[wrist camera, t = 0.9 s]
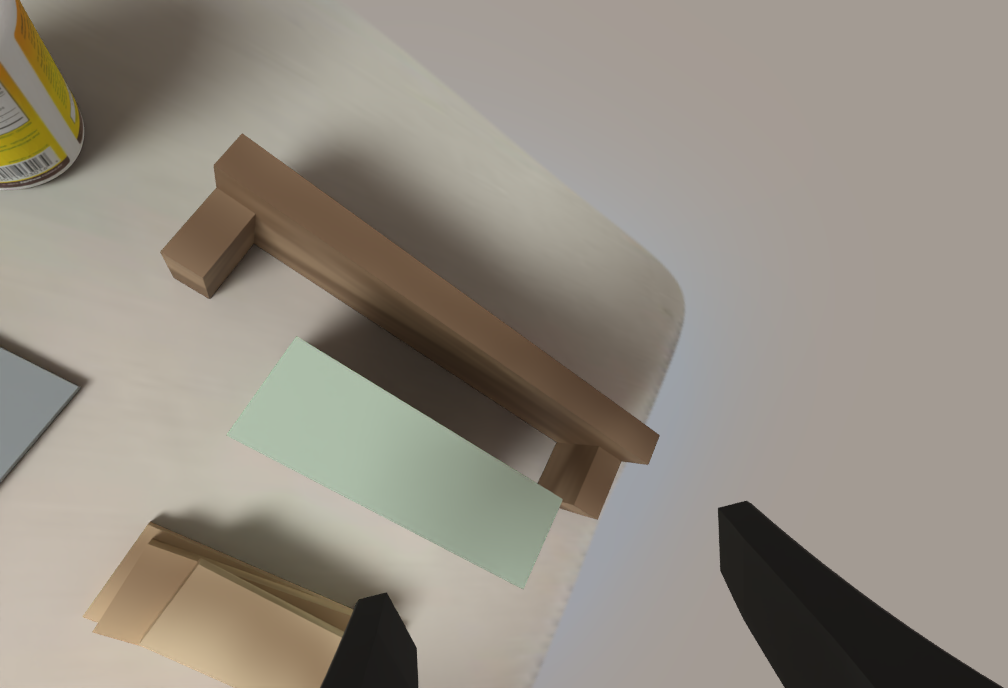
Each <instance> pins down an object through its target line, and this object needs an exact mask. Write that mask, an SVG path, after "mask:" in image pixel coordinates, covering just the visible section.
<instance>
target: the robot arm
mask: <svg viewBox="0 0 1008 688" xmlns="http://www.w3.org/2000/svg"><path fill="white" fill-rule="evenodd" d="M718 520H719V546H720V571H721V573H722V575H723V577H724V579H725V582H726V584H727V586H728V588H729V590H730V592H731V594H732V597H733V599H734V601H735V603H736V605H737V607H738V609H739V611H740V613H741V615H742V617H743V619H744V621H745V622H746V624H747V626H748V628H749V629H750V631H751V633H752V634H753V636H754V638H755V639H756V641H757V643H758V644H759V646H760V648H761V649H762V651H763V653H764V654H765V656H766V658H767V659H768V661H769V663H770V664H771V666H772V668H773V669H774V671H775V673H776V674H777V676H778V677H779V679H780V681H781V682H782V684H783V686H784V687H785V688H1003V687H1002V686H1000V685H998V684H997V683H995V682H993V681H992V680H990V679H988V678H987V677H985V676H984V675H982V674H980V673H979V672H977V671H975V670H974V669H972V668H971V667H969V666H968V665H966V664H965V663H963V662H961V661H960V660H958V659H957V658H955V657H953V656H952V655H950V654H949V653H947V652H946V651H944V650H943V649H941V648H940V647H938V646H937V645H935V644H934V643H932V642H931V641H929V640H928V639H926V638H925V637H923V636H922V635H920V634H919V633H917V632H916V631H914V630H913V629H911V628H910V627H908V626H907V625H906V624H904V623H903V622H901V621H900V620H898V619H897V618H896V617H894V616H893V615H891V614H890V613H889V612H887V611H886V610H884V609H883V608H881V607H880V606H879V605H877V604H876V603H875V602H873V601H872V600H870V599H869V598H868V597H866V596H865V595H864V594H862V593H861V592H859V591H858V590H857V589H855V588H854V587H853V586H852V585H850V584H849V583H848V582H846V581H845V580H844V579H842V578H841V577H840V576H838V575H837V574H836V573H835V572H833V571H832V570H831V569H829V568H828V567H827V566H826V565H824V564H823V563H822V562H821V561H819V560H818V559H817V558H815V557H814V556H813V555H812V554H811V553H809V552H808V551H807V550H806V549H804V548H803V547H802V546H801V545H799V544H798V543H797V542H796V541H795V540H793V539H792V538H791V537H790V536H789V535H787V534H786V533H785V532H784V531H783V530H781V529H780V528H779V527H778V526H777V525H775V524H774V523H773V522H772V521H771V520H769V519H768V518H767V517H766V516H765V515H764V514H763V513H762V512H760V511H759V510H758V509H757V508H756V507H755V506H753V505H752V504H751V503H749V502H748V501H744V502H740V503H736V504H732V505H728V506H724V507H720V508H718ZM320 688H418V668H417V648H416V646H415V644H414V642H413V640H412V638H411V637H410V635H409V633H408V631H407V629H406V627H405V625H404V624H403V622H402V620H401V618H400V616H399V614H398V612H397V611H396V609H395V607H394V605H393V603H392V601H391V599H390V598H389V596H388V594H387V592H386V593H383V594H379V595H375V596H371V597H367V598H363V599H359V600H358V602H357V603H356V605H355V607H354V610H353V612H352V615H351V617H350V620H349V622H348V624H347V627H346V629H345V632H344V634H343V636H342V639H341V641H340V643H339V646H338V648H337V650H336V653H335V655H334V657H333V660H332V662H331V664H330V666H329V669H328V671H327V673H326V676H325V678H324V680H323V682H322V684H321V687H320Z"/></svg>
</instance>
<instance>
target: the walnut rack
mask: <svg viewBox="0 0 1008 688" xmlns="http://www.w3.org/2000/svg"><path fill="white" fill-rule="evenodd" d="M214 172H215V179H216V187H217V188H216V189H215V190H214V191H213V192H212V193H211V194H210V196H209V197H208V198H207V199H206V200H205V201H204V202H203V204H202V205H201V206H200V207H199V208H198V209H197V210H196V212H195V213H194V214H193V215H192V216H191V217H190V218H189V220H188V221H187V222H186V223H185V224H184V225H183V226H182V228H181V229H180V230H179V231H178V232H177V233H176V234H175V236H174V237H173V238H172V239H171V240H170V241H169V242H168V244H167V245H166V246H165V247H164V248H163V249H162V250H161V252H160V253H161V254H162V256H163V258H164V260H165V262H166V264H167V266H168V268H169V269H170V271H171V273H172V275H173V277H174V278H175V279H177V280H178V281H180V282H182V283H183V284H185V285H187V286H188V287H190V288H192V289H193V290H195V291H197V292H198V293H200V294H202V295H203V296H205V297H207V298H208V299H210V298H211V297H212V295H213V294H214V293H215V292H216V290H217V289H218V288H219V287H220V285H221V284H222V283H223V282H224V280H225V279H226V278H227V277H228V275H229V274H230V273H231V272H232V270H233V269H234V268H235V267H236V265H237V264H238V263H239V262H240V260H241V259H242V258H243V257H244V255H245V254H246V253H247V252H248V250H249V249H250V248H251V247H252V245H253V244H255V245H257V246H258V247H260V248H261V249H263V250H264V251H266V252H267V253H269V254H270V255H272V256H274V257H275V258H277V259H278V260H280V261H281V262H283V263H284V264H286V265H287V266H289V267H290V268H292V269H293V270H295V271H296V272H298V273H299V274H301V275H302V276H304V277H306V278H307V279H309V280H310V281H312V282H313V283H315V284H316V285H318V286H319V287H321V288H322V289H324V290H325V291H327V292H328V293H330V294H331V295H333V296H334V297H336V298H338V299H339V300H341V301H342V302H344V303H345V304H347V305H348V306H350V307H351V308H353V309H354V310H356V311H357V312H359V313H360V314H362V315H363V316H365V317H367V318H368V319H370V320H371V321H373V322H374V323H376V324H377V325H379V326H380V327H382V328H383V329H385V330H386V331H388V332H389V333H391V334H392V335H394V336H395V337H397V338H399V339H400V340H402V341H403V342H405V343H406V344H408V345H409V346H411V347H412V348H414V349H415V350H417V351H418V352H420V353H421V354H423V355H424V356H426V357H428V358H429V359H431V360H432V361H434V362H435V363H437V364H438V365H440V366H441V367H443V368H444V369H446V370H447V371H449V372H450V373H452V374H453V375H455V376H456V377H458V378H460V379H461V380H463V381H464V382H466V383H467V384H469V385H470V386H472V387H473V388H475V389H476V390H478V391H479V392H481V393H482V394H484V395H485V396H487V397H489V398H490V399H492V400H493V401H495V402H496V403H498V404H499V405H501V406H502V407H504V408H505V409H507V410H508V411H510V412H511V413H513V414H514V415H516V416H517V417H519V418H521V419H522V420H524V421H525V422H527V423H528V424H530V425H531V426H533V427H534V428H536V429H537V430H539V431H540V432H542V433H543V434H545V435H546V436H548V437H550V438H551V439H553V440H554V441H556V442H557V443H556V445H555V447H554V450H553V452H552V454H551V456H550V458H549V460H548V463H547V465H546V467H545V469H544V471H543V473H542V476H541V478H540V480H539V482H538V484H539V485H540V486H542V487H544V488H545V489H547V490H549V491H550V492H552V493H554V494H555V495H557V496H558V497H560V498H562V499H563V500H562V503H561V505H560V507H559V508H561V509H564V510H567V511H570V512H574V513H577V514H580V515H584V516H587V517H590V518H594V519H597V520H598V517H599V515H600V512H601V510H602V507H603V505H604V503H605V500H606V498H607V495H608V493H609V490H610V488H611V485H612V483H613V481H614V478H615V476H616V473H617V471H618V468H619V466H620V464H621V461H623V462H631V463H638V464H646V465H648V464H649V462H650V459H651V456H652V454H653V451H654V449H655V446H656V444H657V441H658V439H659V434H657V433H656V432H654V431H653V430H652V429H650V428H649V427H648V426H646V425H645V424H643V423H642V422H641V421H639V420H638V419H636V418H635V417H634V416H632V415H631V414H630V413H628V412H627V411H625V410H624V409H623V408H621V407H620V406H618V405H617V404H616V403H614V402H613V401H612V400H610V399H609V398H607V397H606V396H605V395H603V394H602V393H601V392H599V391H598V390H596V389H595V388H594V387H592V386H591V385H589V384H588V383H587V382H585V381H584V380H583V379H581V378H580V377H578V376H577V375H576V374H574V373H573V372H571V371H570V370H569V369H567V368H566V367H565V366H563V365H562V364H560V363H559V362H558V361H556V360H555V359H553V358H552V357H551V356H549V355H548V354H547V353H545V352H544V351H542V350H541V349H540V348H538V347H537V346H536V345H534V344H533V343H531V342H530V341H529V340H527V339H526V338H524V337H523V336H522V335H520V334H519V333H518V332H516V331H515V330H513V329H512V328H511V327H509V326H508V325H506V324H505V323H504V322H502V321H501V320H500V319H498V318H497V317H495V316H494V315H493V314H491V313H490V312H489V311H487V310H486V309H484V308H483V307H482V306H480V305H479V304H477V303H476V302H475V301H473V300H472V299H471V298H469V297H468V296H466V295H465V294H464V293H462V292H461V291H459V290H458V289H457V288H455V287H454V286H453V285H451V284H450V283H448V282H447V281H446V280H444V279H443V278H441V277H440V276H439V275H437V274H436V273H435V272H433V271H432V270H430V269H429V268H428V267H426V266H425V265H424V264H422V263H421V262H419V261H418V260H417V259H415V258H414V257H412V256H411V255H410V254H408V253H407V252H406V251H404V250H403V249H401V248H400V247H399V246H397V245H396V244H394V243H393V242H392V241H390V240H389V239H388V238H386V237H385V236H383V235H382V234H381V233H379V232H378V231H376V230H375V229H374V228H372V227H371V226H370V225H368V224H367V223H365V222H364V221H363V220H361V219H360V218H359V217H357V216H356V215H354V214H353V213H352V212H350V211H349V210H347V209H346V208H345V207H343V206H342V205H341V204H339V203H338V202H336V201H335V200H334V199H332V198H331V197H329V196H328V195H327V194H325V193H324V192H323V191H321V190H320V189H318V188H317V187H316V186H314V185H313V184H311V183H310V182H309V181H307V180H306V179H305V178H303V177H302V176H300V175H299V174H298V173H296V172H295V171H294V170H292V169H291V168H289V167H288V166H287V165H285V164H284V163H282V162H281V161H280V160H278V159H277V158H276V157H274V156H273V155H271V154H270V153H269V152H267V151H266V150H264V149H263V148H262V147H260V146H259V145H258V144H256V143H255V142H253V141H252V140H251V139H249V138H248V137H247V136H245V135H244V134H241V135H240V136H239V137H238V139H237V140H236V141H235V142H234V143H233V144H232V145H231V146H230V148H229V149H228V150H227V151H226V152H225V153H224V154H223V155H222V156H221V158H220V159H219V160H218V161H217V162H216V163H215V164H214Z"/></svg>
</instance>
